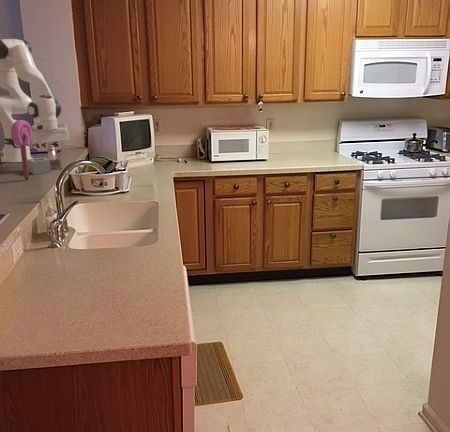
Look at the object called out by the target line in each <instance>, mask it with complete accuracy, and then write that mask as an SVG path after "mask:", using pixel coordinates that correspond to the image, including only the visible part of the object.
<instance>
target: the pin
mask: <svg viewBox="0 0 450 432" xmlns="http://www.w3.org/2000/svg"><path fill="white" fill-rule="evenodd" d="M47 155H48V156H47V157H48V158H47V159H49V160H50V161H55V160H56V158H57V156H56V155H57V154H56V147H55V146H49V147H47Z"/></svg>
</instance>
